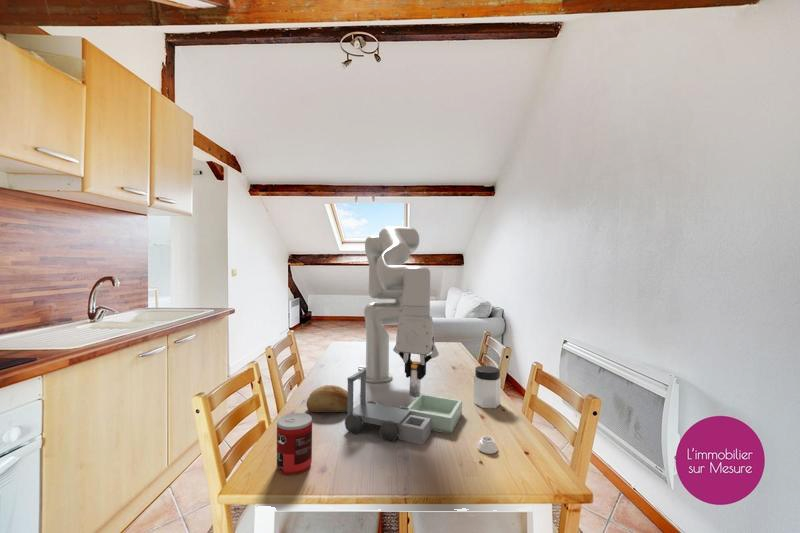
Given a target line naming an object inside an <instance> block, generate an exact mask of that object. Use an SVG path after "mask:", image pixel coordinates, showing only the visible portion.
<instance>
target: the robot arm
mask: <svg viewBox="0 0 800 533" xmlns="http://www.w3.org/2000/svg"><path fill="white" fill-rule="evenodd" d="M419 245H420V235H419V232H418V231H417V229H416V228H414V227H410V226H386V227H384V228H382V229H381V230H380V231H379V233H378V234H377V235H370V236H368V237H367V238H366V239H365V242H364V250H365V256H366V258H367V262H368V266H369V268H368V294H369V296H370V298H371V299H374V300H394V301H374V302H369V303H367V304H366V306H365V307H364V309H363V310H364V311H363V316H364V322H365V366H364V365H358V367H357V370H358V372H359V371H361V370H366V383H373V384H382V383H387V382H390V381H391V380H392V379H393V374H392V373H391V372H390V368H389V367H390V335H389V333H388V331H387V330H386V329H385V327H384V326H392V325H393V326H394V325H395V326H396V325H397V328H396V329H397V330H396V338H395V339H396V340H395V345H394V347H393V349H392V351H393V352H394V353H395V354H397V355H398V356H399V357H400V358H401V360H403V361H402V362H403V363H404V373H405V377H406V378H407V379H408V378H410V362H413V360H412V359H411V357H412V354H413V355H414V354H415V355H419V360H420V361H419V362H420V365H419V369H418V379H420V380H422V379H423V378H424V377H425V376H426V374H427V363H428V362H430V360H432V359H434V358H437V357H438V356H440V353H439V351H438V349H437V347H436V345H435V342H436V340H435V327H434V322H433V317H432V316H431V315H430V314H431V313H430V312H431V311H430V310H431V271H430V268H429V267H426V266H421V265H406V263H407V261H408V260H409V259H410V256H411V254H413V253H415V251H416V250H418V248H419Z"/></svg>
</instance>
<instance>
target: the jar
mask: <svg viewBox="0 0 800 533" xmlns="http://www.w3.org/2000/svg"><path fill="white" fill-rule="evenodd" d="M474 370H475V371H474V372H475V374H474V376H473V377H474V378H473V404H475V405H477V406H479V407H480V408H482V409H497V408H498V407H499V406H500V405H501V388H502V387H501V382H502V380H501V379H502V378H501V371H500V369H499V368H498V367H495V366H491V365H480V366H479V365H478V366H476V367H475V368H474Z"/></svg>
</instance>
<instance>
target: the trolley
mask: <svg viewBox="0 0 800 533" xmlns="http://www.w3.org/2000/svg"><path fill="white" fill-rule="evenodd" d="M358 379H360V394H359V395H360V396H359V397H360V398H359V399H360V400H359V401H360V403H359V404H357V405H356V406H355V407H354V382H355V381H357V380H358ZM347 392H348V403H347V411H346V412H347V415H346V416H347V417H346V418H345V420H344V426H345V429H346V430H347V431H348V432H349V433H351V434H357V433H359V431H361V430H362V428H363V424H364V423H368V424H372V425H377V426H380V427H379V433H380V436H381V438H382V439H383V440H384V441H385V442H389V443H391V442H394V441H395V440H396V439H397V438H398V440H402V441H406V442H411V443H415V444H420V445H424V443H425V442H426V440H428V438H429V436H430V434H432V430H431V419H430V418H425V417H420V416H415V415H411V410H409V408H407V407H408V406H404V405H403V406H400V407H395V406H394V407H393V406H390V405H389V406H388V405H382V404H378V403H377V402H376V401H374V400H367V401H366V397H367V396H366V395H367V394H366V392H367V382H366V370H361V371H358V372H355V373H354V374H352V375H350V376H349V377H347Z"/></svg>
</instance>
